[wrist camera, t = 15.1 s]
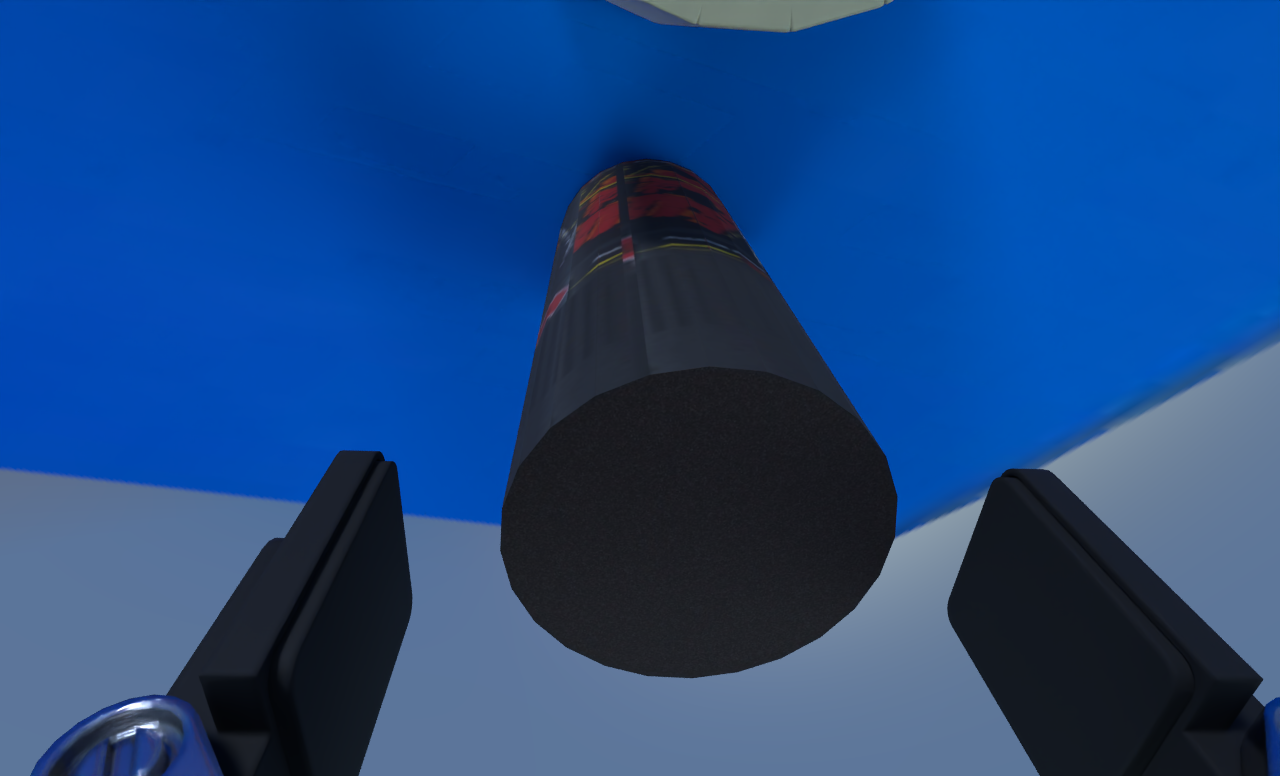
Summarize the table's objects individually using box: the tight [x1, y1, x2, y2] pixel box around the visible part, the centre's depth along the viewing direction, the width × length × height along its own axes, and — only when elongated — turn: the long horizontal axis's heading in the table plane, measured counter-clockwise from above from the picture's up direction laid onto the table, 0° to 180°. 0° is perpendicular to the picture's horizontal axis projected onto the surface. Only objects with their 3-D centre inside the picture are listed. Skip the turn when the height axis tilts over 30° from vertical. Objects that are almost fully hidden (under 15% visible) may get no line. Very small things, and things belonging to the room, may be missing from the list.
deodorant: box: [500, 159, 897, 678], centre depth 17 cm, size 6×6×15 cm
